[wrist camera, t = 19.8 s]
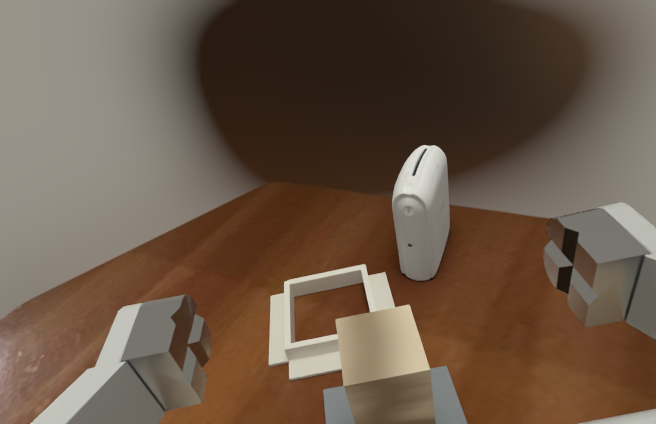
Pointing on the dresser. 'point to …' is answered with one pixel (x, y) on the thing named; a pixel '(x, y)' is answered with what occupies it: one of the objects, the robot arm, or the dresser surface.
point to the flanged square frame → (324, 350)
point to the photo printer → (422, 212)
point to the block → (385, 368)
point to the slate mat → (444, 398)
